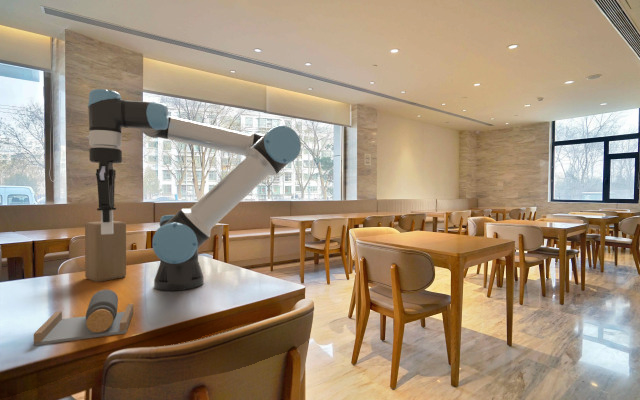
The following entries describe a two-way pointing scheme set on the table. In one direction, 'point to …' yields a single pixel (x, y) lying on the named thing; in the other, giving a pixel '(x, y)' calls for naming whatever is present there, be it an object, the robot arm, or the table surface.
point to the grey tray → (78, 328)
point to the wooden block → (105, 252)
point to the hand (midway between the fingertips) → (107, 233)
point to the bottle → (101, 310)
